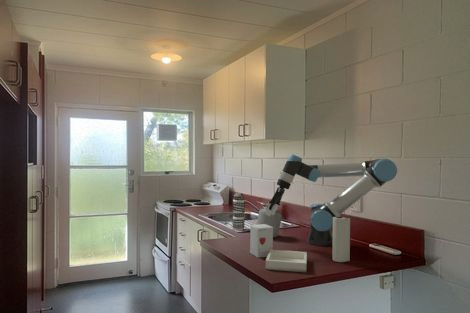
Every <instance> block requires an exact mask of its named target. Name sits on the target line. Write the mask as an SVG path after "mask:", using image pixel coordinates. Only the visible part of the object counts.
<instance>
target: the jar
mask: <svg viewBox="0 0 470 313" xmlns="http://www.w3.org/2000/svg"><path fill="white" fill-rule="evenodd" d="M272 198H273V196H272ZM272 198H271V199H272ZM268 207H269V206H264V208H261V209H259V211H258V215H257V220H256V224H255V225H258V224H266V225H269V226H271V227H273V238H277V237H278V236H279V232H280V228H281V222H282V218H283V215H282V213H281V212H279V209H278V208H277V209H276V211H275V214H274V215H272V214H271V215H270V216H268V215H266V214H265V213H266V211H267V209H268Z"/></svg>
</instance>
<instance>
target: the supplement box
mask: <svg viewBox="0 0 470 313" xmlns="http://www.w3.org/2000/svg"><path fill="white" fill-rule="evenodd" d="M249 235H250V237H249V239H250V242H249V254H251V255H253V256H254V257H256V258H257V259H258V258H265V257H266V258H267V256H268V254H269V251H270V250H274V243H273V242H274V237H273V227H271V226H269V225H266V224H258V225H256V224H250V234H249Z"/></svg>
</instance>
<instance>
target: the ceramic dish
mask: <svg viewBox="0 0 470 313" xmlns="http://www.w3.org/2000/svg"><path fill="white" fill-rule="evenodd" d="M307 255H308V253H307V251H297V250H295V251H294V250H281V249H273V250H270V251H269V254H268V256H267V257H266V259H265V270H270V271H271V270H272V271H285V272H297V273H307V261H308V259H307V258H308V256H307Z"/></svg>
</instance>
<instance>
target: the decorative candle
mask: <svg viewBox="0 0 470 313" xmlns="http://www.w3.org/2000/svg"><path fill="white" fill-rule="evenodd" d="M231 202H232V203H231V204H232V207H231V208H232V209H231V210H232V214H233V215H232V230H234V229H235V230H234V231H244V230H245V224H246V223H245V212H246V211H245V210H246V208H245V207H246V203H245V194H244V193H242V192H235V193H234V194H233V199H232V201H231ZM243 229H244V230H243Z"/></svg>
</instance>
